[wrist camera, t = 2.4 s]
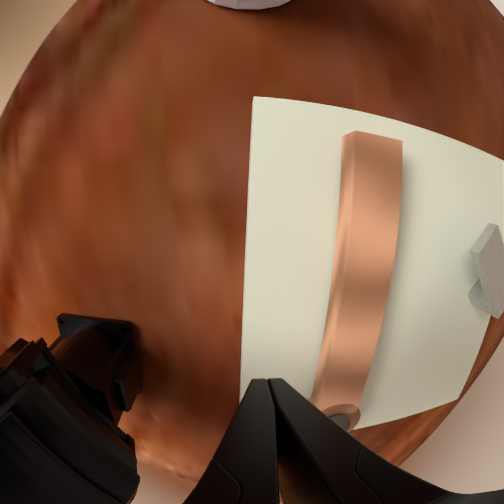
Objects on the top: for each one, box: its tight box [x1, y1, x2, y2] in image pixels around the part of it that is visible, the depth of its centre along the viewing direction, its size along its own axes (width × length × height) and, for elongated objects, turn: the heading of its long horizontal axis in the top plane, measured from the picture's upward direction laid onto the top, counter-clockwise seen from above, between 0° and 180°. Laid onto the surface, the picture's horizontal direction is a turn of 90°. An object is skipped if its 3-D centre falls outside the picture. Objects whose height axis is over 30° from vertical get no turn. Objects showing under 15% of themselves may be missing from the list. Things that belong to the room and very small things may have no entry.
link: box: [308, 130, 403, 433], centre depth 17 cm, size 22×4×2 cm, turn 178°
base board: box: [239, 96, 504, 430], centre depth 19 cm, size 25×26×1 cm
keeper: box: [467, 223, 504, 319], centre depth 17 cm, size 3×8×5 cm, turn 43°
